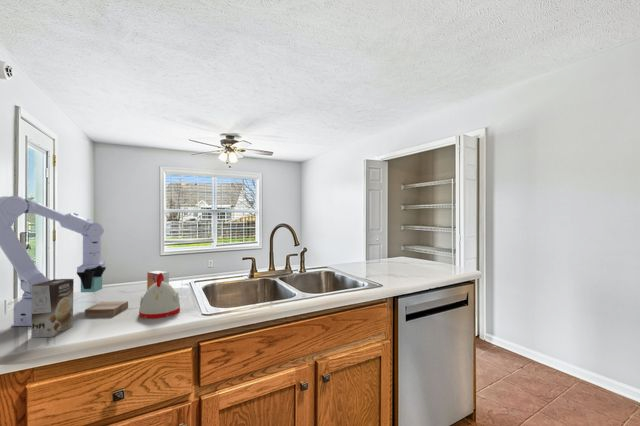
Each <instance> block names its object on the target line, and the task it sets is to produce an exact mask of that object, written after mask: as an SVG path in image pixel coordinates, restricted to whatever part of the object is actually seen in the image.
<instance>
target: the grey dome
mask: <svg viewBox="0 0 640 426" xmlns="http://www.w3.org/2000/svg"><path fill="white" fill-rule="evenodd" d="M156 281H157V282H156V283H155V284H153V285H152V286H151V287H150V288H149V289H148V290H147V289H146V291H145V293H144V295H142V296H140V297H141V298H140V301H139V308H138V309H139V311H138V316H139V317H140V318H143V319H152V320H153V319H161V318H167V316H168V317H171V315H172V316H174V315H176V314H178V313H179V312H180V311H181V305H180V304H181V302H180V296H179V292H176V290H175V288H174V287H173V286H172V285H171V284H170V283H169V284H168V283H166V282H164V277H163V275H162V273H159V275H157V280H156Z"/></svg>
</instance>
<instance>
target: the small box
mask: <svg viewBox="0 0 640 426" xmlns="http://www.w3.org/2000/svg"><path fill="white" fill-rule="evenodd" d="M159 273H162V275H163V277H164V282H166V283H168V284H169V285H170V272H169V271H163V270H153V271H147V279H146V281H147V282H146V286H147V289H146V291H147V290H148V289H149V288H150V287H151V286H152V285H153V284H155V283H156V282H157V281H156V280H157V275H159Z"/></svg>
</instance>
